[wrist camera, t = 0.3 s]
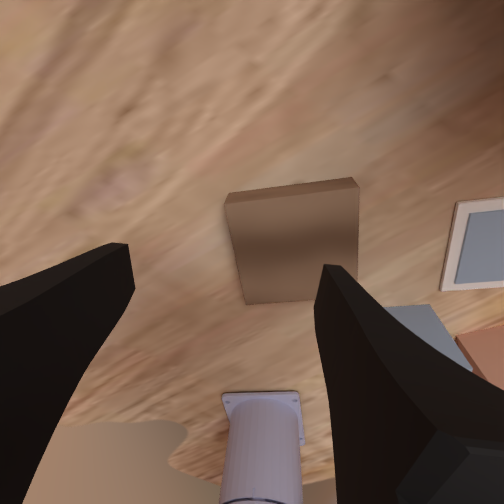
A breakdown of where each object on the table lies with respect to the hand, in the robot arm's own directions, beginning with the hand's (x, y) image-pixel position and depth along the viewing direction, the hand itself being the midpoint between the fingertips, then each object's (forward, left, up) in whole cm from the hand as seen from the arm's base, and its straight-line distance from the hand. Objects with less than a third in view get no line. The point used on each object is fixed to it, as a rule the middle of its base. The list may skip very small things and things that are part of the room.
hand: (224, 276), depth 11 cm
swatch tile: (-6, -17, -10) cm, 20 cm away
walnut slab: (-4, -3, -10) cm, 11 cm away
